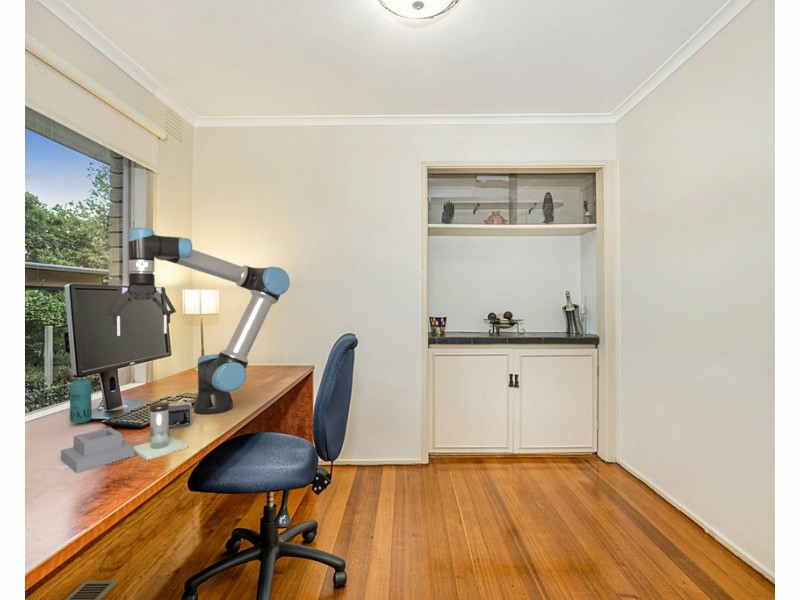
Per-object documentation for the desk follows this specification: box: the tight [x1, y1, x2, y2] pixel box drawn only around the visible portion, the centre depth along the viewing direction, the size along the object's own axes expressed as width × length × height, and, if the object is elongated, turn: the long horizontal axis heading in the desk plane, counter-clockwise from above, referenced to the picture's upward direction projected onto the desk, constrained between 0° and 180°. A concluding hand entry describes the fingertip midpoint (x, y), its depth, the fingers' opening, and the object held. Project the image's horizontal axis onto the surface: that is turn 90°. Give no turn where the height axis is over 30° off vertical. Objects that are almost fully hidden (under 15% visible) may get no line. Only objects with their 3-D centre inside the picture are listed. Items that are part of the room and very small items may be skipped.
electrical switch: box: [168, 401, 193, 431], centre depth 146 cm, size 9×5×9 cm, turn 113°
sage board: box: [133, 435, 189, 461], centre depth 127 cm, size 12×12×1 cm
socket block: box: [60, 427, 135, 474], centre depth 120 cm, size 14×14×7 cm
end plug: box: [149, 402, 170, 449], centre depth 127 cm, size 5×5×13 cm
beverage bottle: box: [69, 374, 93, 424], centre depth 150 cm, size 6×7×20 cm
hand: (142, 334), depth 140 cm, fingers open, 13 cm apart
